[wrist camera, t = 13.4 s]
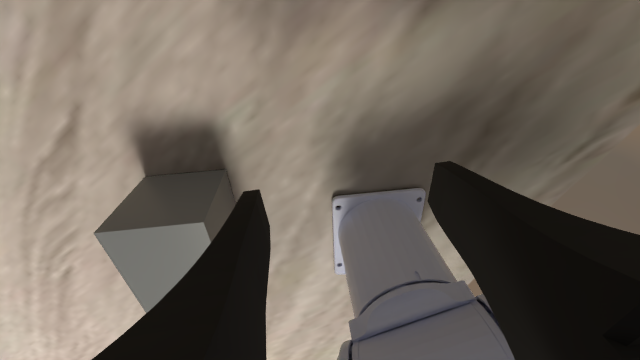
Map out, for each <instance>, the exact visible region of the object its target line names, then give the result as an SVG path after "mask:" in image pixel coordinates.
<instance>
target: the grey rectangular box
mask: <svg viewBox="0 0 640 360" xmlns="http://www.w3.org/2000/svg"><path fill="white" fill-rule="evenodd" d="M234 207H235V201H234V197H233V194H232V190H231V186H230V182H229V179H228V175H227V171H226V169H224V170H213V171H202V172H191V173H180V174H169V175H158V176H147V177H144V178H143V180H142V181H141V182H140V183H139V184H138V185H137V186H136V187H135V188H134V189H133V191H132V192H131V193H130V194H129V195H128V196H127V197H126V198H125V199H124V200H123V202H122V203H121V204H120V205H119V206H118V207H117V208H116V209H115V210H114V211H113V212H112V214H111V215H110V216H109V217H108V218H107V219H106V220H105V221H104V222H103V223H102V225H101V226H100V227H99V228H98V229H97V230H96V231H95V232H94V235H95V236H96V238H97V239H98V241H99V242H100V244H101V245H102V247H103V248H104V250H105V251H106V253H107V254H108V256H109V257H110V259H111V260H112V262H113V263H114V265H115V266H116V268H117V269H118V271H119V273H120V274H121V276H122V277H123V279H124V280H125V282H126V283H127V285H128V286H129V288H130V289H131V291H132V292H133V294H134V295H135V297H136V298H137V300H138V301H139V303H140V304H141V306H142V307H143V309H144V310H145V312H146V313H147V312H149V311H150V310H151V309H152V308H153V307H154V306H155V305H156V304H157V303H158V302H159V301H160V300H161V299H162V298H163V297H164V296H165V295H166V294H167V293H168V292H169V291H170V290H171V289H172V288H173V287H174V286H175V285H176V284H177V283H178V282H179V281H180V280H181V279H182V278H183V276H184V275H185V274H186V273H187V272H188V271H189V270H190V268H191V267H192V266H193V265H194V264H195V263H196V261H197V260H198V259H199V258H200V256H201V255H202V254H203V253H204V251H205V250H206V249H207V247H208V246H209V245H210V243H211V242H212V240H213V239H214V238H215V236H216V235H217V233H218V232H219V231H220V229H221V227H222V226H223V224H224V223H225V221H226V220H227V218H228V217H229V215H230V213H231V212H232V210H233V209H234Z"/></svg>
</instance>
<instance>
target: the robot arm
mask: <svg viewBox="0 0 640 360" xmlns="http://www.w3.org/2000/svg"><path fill="white" fill-rule="evenodd" d="M425 195H426V192H425V191H424V189H422V188H414V189H403V190H393V191H383V192H373V193H362V194H352V195H342V196H335V197H334V198H333V199H332V219H333V246H334V270H335V273H336V274H338V275H342V274H346V279H347V284H348V289H349V293H350V298H351V303H352V308H353V312H354V317H355V319H352V320H350V321H349V327H350V332H351V338H352V340H348V341H345V342H344V343H343V344H342V345H341V348H340V352H339V356H338V358H337V360H640V235H638V234H634V233H630V232H626V231H623V230H619V229H616V228H612V227H609V226H606V225H602V224H599V223H596V222H592V221H589V220H586V219H583V218H580V217H577V216H574V215H571V214H568V213H565V212H562V211H560V210H557V209H555V208H552V207H549V206H546V205H544V204H541V203H539V202H537V201H534V200H532V199H530V198H527V197H525V196H523V195H520V194H518V193H516V192H514V191H511V190H509V189H507V188H505V187H503V186H501V185H499V184H497V183H495V182H492V181H490V180H488V179H486V178H484V177H482V176H480V175H478V174H476V173H474V172H472V171H470V170H468V169H466V168H464V167H462V166H460V165H458V164H455V163H453V162H451V161H447V162H440V163H435V167H434V172H433V177H432V182H431V187H430V192H429V197H428V203H429V205H430V207H431V209H432V212H433V214H434V216H435V218H436V220H437V222H438V223H439V225H440V226H441V228H442V229H443V231H444V232H445V234H446V235H447V237H448V238H449V240H450V241H451V243H452V244H453V245H454V247H455V248H456V250H457V251H458V253H459V254H460V256H461V257H462V259H463V260H464V262H465V263H466V265H467V266H468V268H469V269H470V271H471V272H472V274H473V276H474V277H475V279H476V281H477V283H478V285H479V287H480V289H481V290H482V292H483V294H481V295H479V296H476V297H474V295H473V293H472V292H471V291H470V289H469V287H468V286H467V284H466V283H465V281H463V280H462V281H458V282H457V280H456V279H455V277H454V276H453V274H452V272H451V271H450V269H449V268H448V266H447V264H446V263H445V261H444V260H443V258H442V256H441V255H440V253H439V252H438V250H437V249H436V247H435V245H434V244H433V242H432V241H431V239H430V237H429V236H428V234H427V233H426V231H425V229H424V228H423V226H422V225H421V223H420V222H421V217H422V212H423V206H424V201H425ZM419 197H420V199H418V200H417V198H419ZM338 205H339V206H340V207H338V208H336V206H338ZM270 249H271V248H270V225H269V222H268V218H267V215H266V211H265V207H264V204H263V200H262V197H261V193H260V190H252V191H245V192H243V194H242V195H241V197H240V198H239V200H238V202H237V203H236V205H235V207H234V209H233V210H232V212H231V213H230V215H229V217H228V218H227V220H226V221H225V223H224V224H223V226H222V227H221V229H220V231H219V232H218V233H217V235H216V236H215V238H214V239H213V240H212V242H211V243H210V245H209V246H208V247H207V249H206V250H205V251H204V253H203V254H202V255H201V256H200V258H199V259H198V260H197V261H196V263H195V264H194V265H193V266H192V267H191V268H190V270H189V271H188V272H187V273H186V274H185V275H184V276H183V278H182V279H181V280H180V281H179V282H178V283H177V284H176V285H175V286H174V287H173V288H172V289H171V290H170V291H169V292H168V293H167V294H166V295H165V296H164V297H163V298H162V299H161V300H160V301H159V302H158V303H157V304H156V305H155V306H154V307H153V308H152V309H151V310H150V311H149V312H147V313H146V314H145V315H144V316H143V317H142V318H141V319H140V320H139V321H138V322H136V323H135V324H134V325H133V326H132V327H131V328H130V329H128V330H127V331H126V332H125V333H124V334H123V335H121V336H120V337H119V338H118V339H117V340H116V341H114V342H113V343H112V344H111V345H109V346H108V347H107V348H106V349H104V350H103V351H102V352H101V353H99V354H98V355H97V356H96V357H94V358H93V359H92V360H266V296H267V285H268V273H269V261H270ZM338 263H339V264H338Z"/></svg>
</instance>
